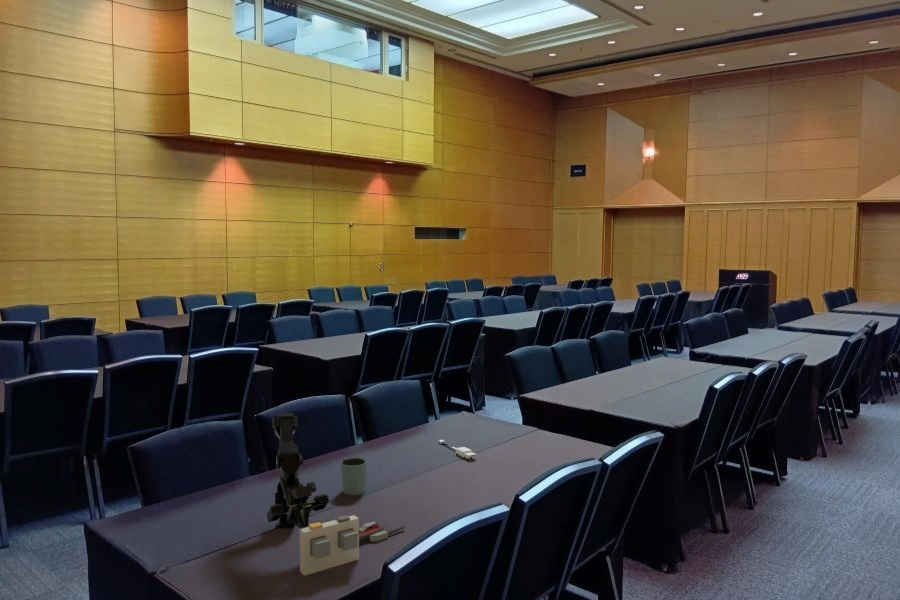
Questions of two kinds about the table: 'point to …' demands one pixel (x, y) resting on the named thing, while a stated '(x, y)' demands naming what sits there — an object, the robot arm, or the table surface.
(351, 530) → the button dark
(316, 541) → the grey rectangular block
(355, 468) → the grey green cup
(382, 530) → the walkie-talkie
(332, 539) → the console
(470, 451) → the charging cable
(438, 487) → the table surface
